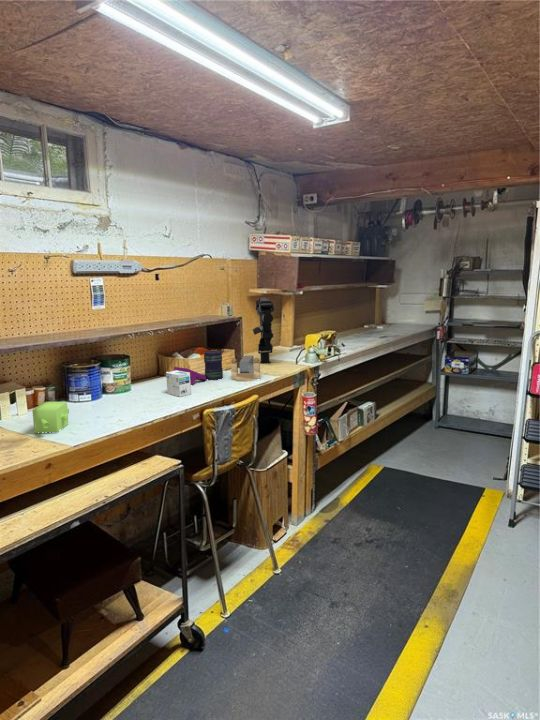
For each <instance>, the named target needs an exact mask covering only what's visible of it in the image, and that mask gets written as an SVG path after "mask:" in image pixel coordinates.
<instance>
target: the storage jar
mask: <svg viewBox="0 0 540 720" xmlns="http://www.w3.org/2000/svg"><path fill="white" fill-rule="evenodd" d="M203 362H204V375H205V376H207V377H206V379H208V380H207V381H210V380H213V381H219V380H218V379H221V380H223V379H224V376H223V375H224V372H223V371H224V369H223V351H222V350H219V349H218V350H217V349H213V350H212V349H211V350H205V351H203ZM222 378H223V379H222Z"/></svg>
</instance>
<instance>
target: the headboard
mask: <svg viewBox="0 0 540 720" xmlns="http://www.w3.org/2000/svg"><path fill="white" fill-rule="evenodd" d="M253 364H254V373H240V372H239V369H238V361H237V358H234V357H233V358H232V359H231V363H230V370H231V380H232V381H236V382H254V381H255V380H254V379H260V380H261V363H260V358H258V357H255V358H254V363H253ZM253 380H254V381H253Z"/></svg>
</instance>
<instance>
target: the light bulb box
mask: <svg viewBox="0 0 540 720" xmlns="http://www.w3.org/2000/svg"><path fill="white" fill-rule="evenodd" d="M165 376H166V388H167V389H166V393H167V395H171V394H172V395H171V396H174V395H175V396H176V397H178V396H179V397H180V398H181V396H182V397H186V396H189V395H192V386H191V383H190V373H189V372H183V371H178V370H176V371H173V370H171V371H166V372H165ZM185 395H186V396H185Z"/></svg>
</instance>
